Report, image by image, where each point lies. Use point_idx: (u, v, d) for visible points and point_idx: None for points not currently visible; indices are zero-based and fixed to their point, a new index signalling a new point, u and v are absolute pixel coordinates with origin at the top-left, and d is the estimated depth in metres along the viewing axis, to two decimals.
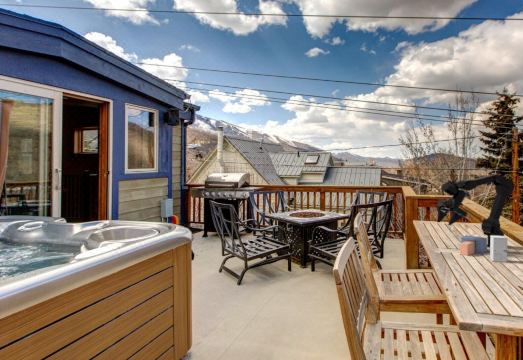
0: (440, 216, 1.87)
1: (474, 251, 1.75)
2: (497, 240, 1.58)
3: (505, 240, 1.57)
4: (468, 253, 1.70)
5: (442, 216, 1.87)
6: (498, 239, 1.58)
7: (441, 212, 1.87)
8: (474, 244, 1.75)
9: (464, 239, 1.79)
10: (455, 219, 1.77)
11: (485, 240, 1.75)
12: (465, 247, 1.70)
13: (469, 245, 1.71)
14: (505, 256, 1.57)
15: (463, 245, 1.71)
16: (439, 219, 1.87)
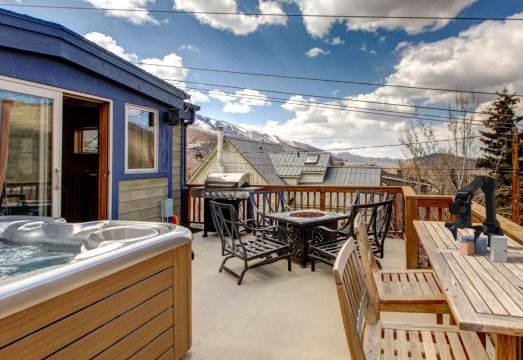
0: (455, 234, 1.75)
1: (474, 251, 1.75)
2: (497, 240, 1.58)
3: (505, 240, 1.57)
4: (468, 253, 1.70)
5: (456, 232, 1.76)
6: (498, 239, 1.58)
7: (454, 230, 1.75)
8: (474, 244, 1.75)
9: (464, 239, 1.79)
10: (478, 236, 1.67)
11: (485, 240, 1.75)
12: (465, 247, 1.70)
13: (469, 245, 1.71)
14: (505, 256, 1.57)
15: (463, 245, 1.71)
16: (455, 237, 1.75)
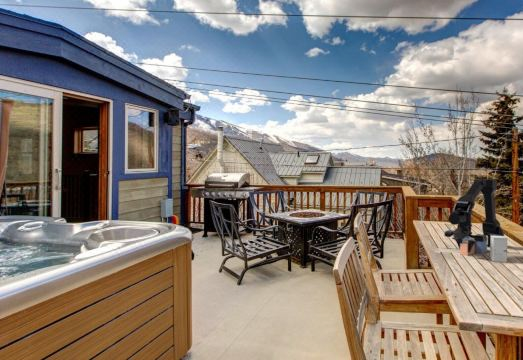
0: None
1: (474, 251, 1.75)
2: (497, 240, 1.58)
3: (505, 240, 1.57)
4: (468, 253, 1.70)
5: (461, 242, 1.74)
6: (498, 239, 1.58)
7: (459, 240, 1.73)
8: (474, 244, 1.75)
9: (464, 239, 1.79)
10: (472, 244, 1.70)
11: None
12: (465, 247, 1.70)
13: None
14: (505, 256, 1.57)
15: (463, 245, 1.71)
16: None
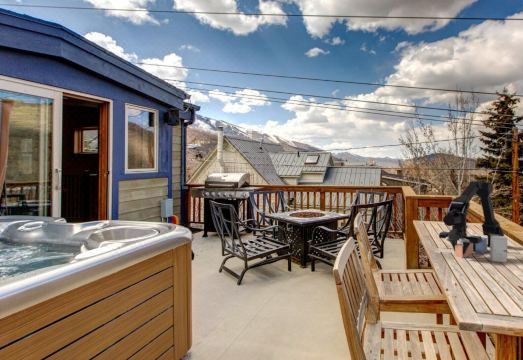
0: None
1: (469, 253, 1.71)
2: (497, 240, 1.58)
3: (505, 240, 1.57)
4: (463, 255, 1.67)
5: (456, 244, 1.70)
6: (498, 239, 1.58)
7: (454, 241, 1.70)
8: (469, 246, 1.71)
9: None
10: (467, 246, 1.66)
11: (485, 240, 1.75)
12: (460, 249, 1.67)
13: None
14: (505, 256, 1.57)
15: (458, 247, 1.67)
16: None
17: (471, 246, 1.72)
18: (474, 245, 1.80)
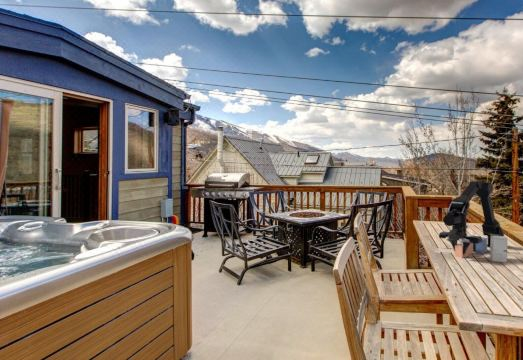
0: None
1: (469, 253, 1.71)
2: (497, 240, 1.58)
3: (505, 240, 1.57)
4: (463, 255, 1.67)
5: (456, 244, 1.70)
6: (498, 239, 1.58)
7: (454, 241, 1.70)
8: (469, 246, 1.71)
9: None
10: (467, 246, 1.66)
11: (485, 240, 1.75)
12: (460, 249, 1.67)
13: None
14: (505, 256, 1.57)
15: (458, 247, 1.67)
16: None
17: (471, 246, 1.72)
18: (474, 245, 1.80)
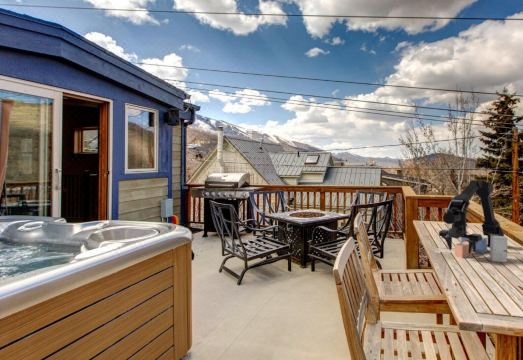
0: (449, 243, 1.72)
1: None
2: (497, 240, 1.58)
3: (505, 240, 1.57)
4: (463, 255, 1.67)
5: (450, 241, 1.73)
6: (498, 239, 1.58)
7: (448, 238, 1.72)
8: None
9: (464, 239, 1.79)
10: (472, 245, 1.64)
11: (485, 240, 1.75)
12: (460, 249, 1.67)
13: (464, 247, 1.68)
14: (505, 256, 1.57)
15: (458, 247, 1.67)
16: (450, 246, 1.72)
17: None
18: (474, 245, 1.80)
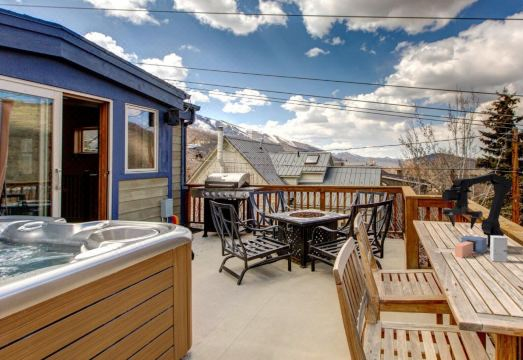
0: (453, 220, 1.88)
1: (469, 253, 1.71)
2: (497, 240, 1.58)
3: (505, 240, 1.57)
4: (463, 255, 1.67)
5: (453, 219, 1.89)
6: (498, 239, 1.58)
7: (452, 216, 1.88)
8: (469, 246, 1.71)
9: (464, 239, 1.79)
10: (474, 221, 1.80)
11: (485, 240, 1.75)
12: (460, 249, 1.67)
13: (464, 247, 1.68)
14: (505, 256, 1.57)
15: (458, 247, 1.67)
16: (453, 223, 1.88)
17: (471, 246, 1.72)
18: (474, 245, 1.80)
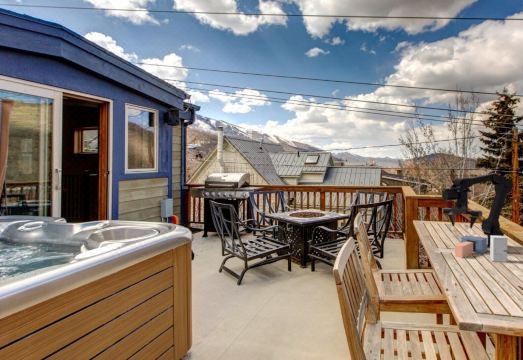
0: (452, 220, 1.89)
1: (469, 253, 1.71)
2: (497, 240, 1.58)
3: (505, 240, 1.57)
4: (463, 255, 1.67)
5: (453, 218, 1.89)
6: (498, 239, 1.58)
7: (452, 216, 1.88)
8: (469, 246, 1.71)
9: (464, 239, 1.79)
10: (474, 221, 1.80)
11: (485, 240, 1.75)
12: (460, 249, 1.67)
13: (464, 247, 1.68)
14: (505, 256, 1.57)
15: (458, 247, 1.67)
16: (453, 223, 1.88)
17: (471, 246, 1.72)
18: (474, 245, 1.80)
